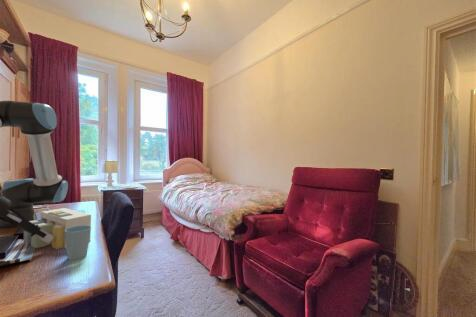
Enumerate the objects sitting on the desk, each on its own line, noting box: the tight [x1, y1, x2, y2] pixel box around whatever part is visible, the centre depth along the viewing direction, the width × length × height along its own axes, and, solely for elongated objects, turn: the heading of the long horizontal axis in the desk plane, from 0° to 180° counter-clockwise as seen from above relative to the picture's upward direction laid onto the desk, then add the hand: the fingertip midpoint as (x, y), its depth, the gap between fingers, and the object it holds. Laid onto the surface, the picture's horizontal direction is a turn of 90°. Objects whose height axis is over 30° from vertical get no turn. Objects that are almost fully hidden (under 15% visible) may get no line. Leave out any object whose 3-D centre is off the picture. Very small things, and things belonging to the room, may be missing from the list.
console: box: [40, 207, 92, 249], centre depth 95 cm, size 9×22×12 cm, turn 61°
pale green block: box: [30, 222, 55, 249], centre depth 89 cm, size 8×4×8 cm, turn 151°
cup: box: [65, 225, 92, 261], centre depth 79 cm, size 8×8×10 cm
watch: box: [33, 207, 52, 220], centre depth 105 cm, size 6×8×11 cm
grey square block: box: [23, 219, 47, 245], centre depth 93 cm, size 8×4×8 cm, turn 151°
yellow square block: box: [51, 224, 65, 250], centre depth 89 cm, size 8×4×8 cm, turn 151°
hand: (50, 239), depth 84 cm, fingers closed
